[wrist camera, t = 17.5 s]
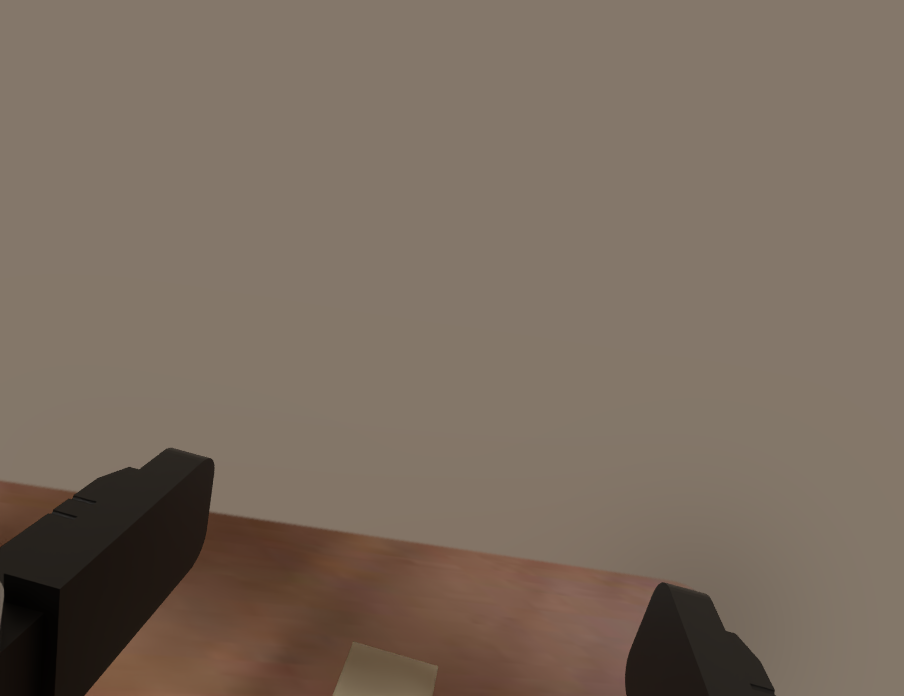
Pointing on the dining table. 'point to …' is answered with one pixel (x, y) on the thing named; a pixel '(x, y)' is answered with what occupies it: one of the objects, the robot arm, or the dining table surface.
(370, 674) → the beige rectangular block
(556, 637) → the dining table surface
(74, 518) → the robot arm
